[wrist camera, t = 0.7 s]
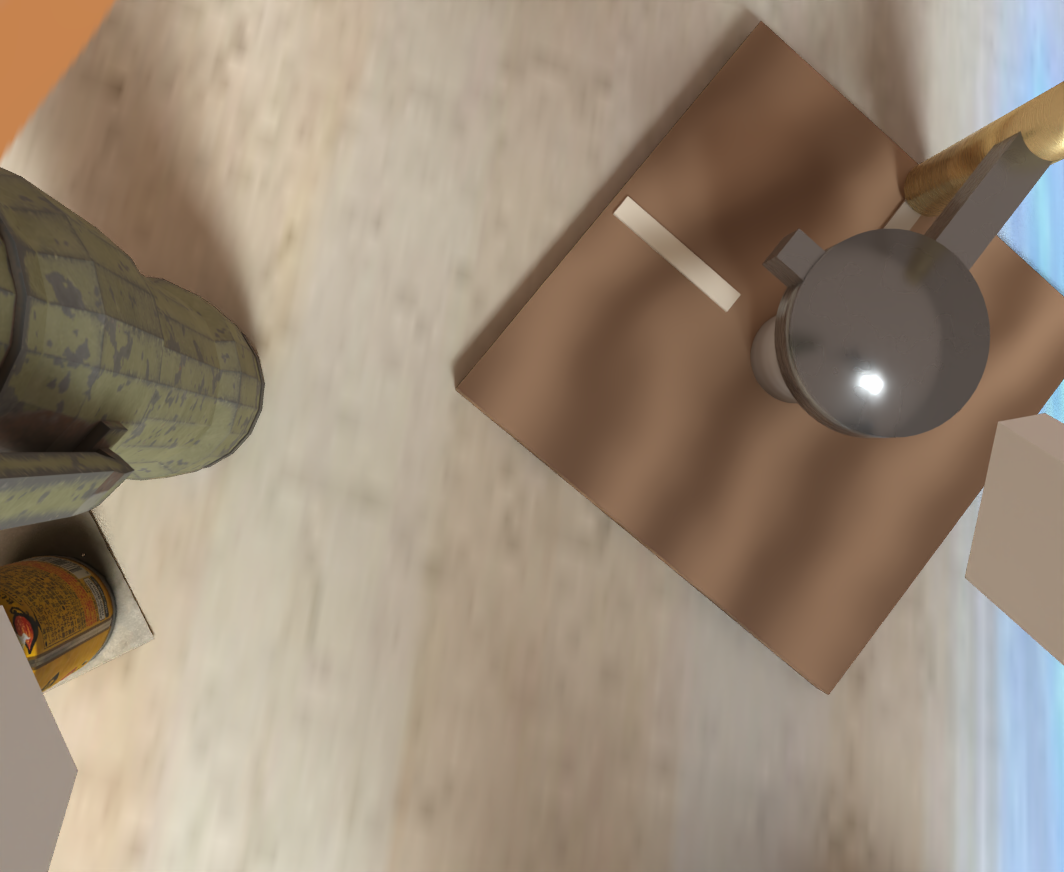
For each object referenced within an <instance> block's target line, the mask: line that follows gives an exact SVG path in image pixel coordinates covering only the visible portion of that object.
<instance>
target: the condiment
mask: <svg viewBox="0 0 1064 872" xmlns="http://www.w3.org/2000/svg"><path fill="white" fill-rule="evenodd" d="M83 553H84V554H85V556H82V554H83ZM1 605H3V608H4V610H5V612H6V614H7V616H8V619H9V621H10V623H11V625H12V627H13V629H14V632H15V634H16V636H17V638H18V640H19V643H20V645H21V647H22V649H23V651H24V654H25V656H26V658H27V660H28V662H29V665H30V667H31V669H32V671H33V673H34V675H35V678H36V680H37V682H38V684H39V686H40V689H41V691H42V693H45V692H47V691H49V690H51V689H53V688H55V687H57V686H59V685H61V684H63V683H66V682H68V681H70V680H72V679H74V678H76V677H78V676H80V675H82V674H84V673H86V672H88V671H90V670H92V669H94V668H96V667H98V666H100V665H102V664H104V663H106V662H108V661H110V660H112V659H114V658H116V657H119V656H121V655H123V654H124V653H127V652H129V651H131V650H133V649H135V648H137V647H139V646H141V645H143V644H145V643H147V642H149V641H151V640H153V639H154V637H153V635H152V633H151V631H150V629H149V627H148V625H147V623H146V621H145V619H144V617H143V615H142V613H141V611H140V609H139V606H138V605H137V603H136V601H135V600H134V597H133V595H132V593H131V591H130V589H129V587H128V585H127V583H126V581H125V580H124V578H123V575H122V573H121V571H120V570H119V568H118V566H117V564H116V562H115V560H114V558H113V557H112V555H111V554H110V552H109V550H108V548H107V546H106V543H105V541H104V539H103V537H102V536H101V534H100V532H99V529H98V527H97V525H96V523H95V522H94V520H93V518H92V516H91V514H90V513H89V511H86V512H83V513H80V514H77V515H74V516H71V517H67V518H61V519H56V520H51V521H46V522H40V523H35V524H30V525H25V526H19V527H14V528H9V529H3V530H0V606H1Z"/></svg>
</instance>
